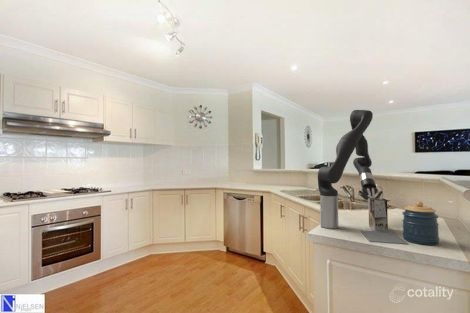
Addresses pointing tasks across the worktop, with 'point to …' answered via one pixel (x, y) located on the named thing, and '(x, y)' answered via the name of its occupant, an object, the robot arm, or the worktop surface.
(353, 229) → the worktop surface
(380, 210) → the coffee box
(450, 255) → the worktop surface
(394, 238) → the charcoal mat
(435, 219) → the canister
